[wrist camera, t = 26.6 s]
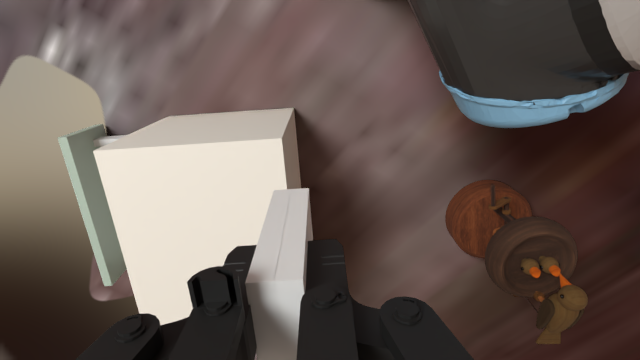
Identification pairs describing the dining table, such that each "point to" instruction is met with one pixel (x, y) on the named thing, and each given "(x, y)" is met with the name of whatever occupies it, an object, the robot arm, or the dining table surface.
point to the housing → (193, 196)
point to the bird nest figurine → (519, 252)
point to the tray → (94, 198)
